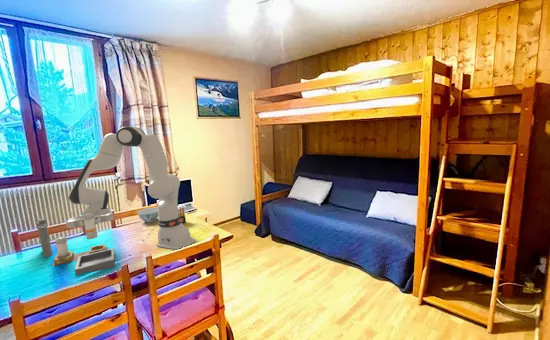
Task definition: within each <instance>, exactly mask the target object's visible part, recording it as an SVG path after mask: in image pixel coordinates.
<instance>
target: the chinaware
mask: <svg viewBox="0 0 550 340" xmlns="http://www.w3.org/2000/svg"><path fill="white" fill-rule="evenodd" d="M137 216H138V217H139V218H140V219H141V220H143V221H144V222H145V223H152V222H155V221H156V219H157V218H159V217H158V209H157V207H146V208H144V209H140V210H138V211H137Z"/></svg>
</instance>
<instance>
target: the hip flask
mask: <svg viewBox="0 0 550 340" xmlns="http://www.w3.org/2000/svg"><path fill="white" fill-rule="evenodd" d="M36 228H37V231H38V236H39V242H40V245H41V251H42V253H43V256H44V258H46V257H50V256H52V255H53V248H52V245H51V239H50V233H49V229H48V224H47V218H41V219H40V218H39V219H38V220H37V221H36Z"/></svg>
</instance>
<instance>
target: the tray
mask: <svg viewBox="0 0 550 340" xmlns="http://www.w3.org/2000/svg"><path fill="white" fill-rule="evenodd" d="M115 255H116V254H115V248H110V249H109V248H108V250H104V251H99V252H95V253H91V254H86V255H82V256H78V260H77V261H76V265H75V267H74V274H75V275H80V274H83V273H87V274H91V273H95V272H98V271H99V272H100V271H105V270H106V269H111V268H114V267H115V266H116V264H115V262H116V260H115V259H116V257H115Z"/></svg>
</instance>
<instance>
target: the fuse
mask: <svg viewBox="0 0 550 340" xmlns="http://www.w3.org/2000/svg"><path fill="white" fill-rule="evenodd" d="M67 239H68V238H67V236H59V237H56V238H55V244H56V245H55V246H56V250H57V254H58V256H59V257H58V258H63V257H67V256H69V252H70V251H69V248H68V240H67Z"/></svg>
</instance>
